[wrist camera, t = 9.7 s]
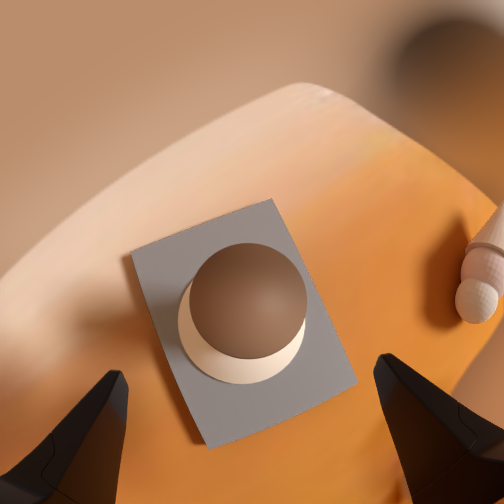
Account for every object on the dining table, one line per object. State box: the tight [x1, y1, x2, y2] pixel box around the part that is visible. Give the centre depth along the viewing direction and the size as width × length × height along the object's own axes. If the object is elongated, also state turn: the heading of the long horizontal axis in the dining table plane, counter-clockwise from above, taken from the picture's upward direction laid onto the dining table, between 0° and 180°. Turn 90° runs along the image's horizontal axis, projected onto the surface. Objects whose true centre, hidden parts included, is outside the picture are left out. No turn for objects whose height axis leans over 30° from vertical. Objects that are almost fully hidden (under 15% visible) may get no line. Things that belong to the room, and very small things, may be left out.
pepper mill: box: [189, 243, 307, 359], centre depth 16 cm, size 4×4×10 cm
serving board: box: [131, 199, 358, 450], centre depth 21 cm, size 16×12×2 cm
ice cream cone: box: [455, 200, 504, 324], centre depth 22 cm, size 6×6×15 cm
